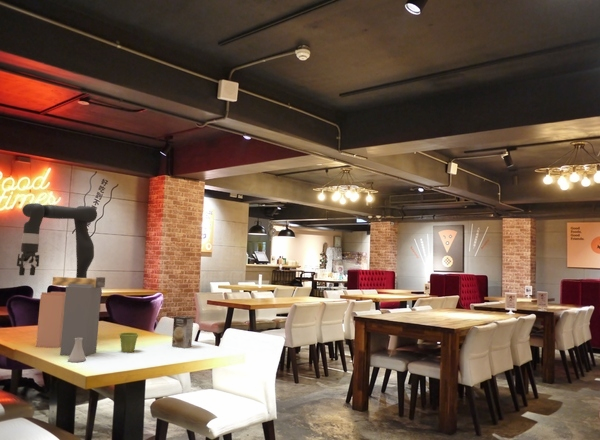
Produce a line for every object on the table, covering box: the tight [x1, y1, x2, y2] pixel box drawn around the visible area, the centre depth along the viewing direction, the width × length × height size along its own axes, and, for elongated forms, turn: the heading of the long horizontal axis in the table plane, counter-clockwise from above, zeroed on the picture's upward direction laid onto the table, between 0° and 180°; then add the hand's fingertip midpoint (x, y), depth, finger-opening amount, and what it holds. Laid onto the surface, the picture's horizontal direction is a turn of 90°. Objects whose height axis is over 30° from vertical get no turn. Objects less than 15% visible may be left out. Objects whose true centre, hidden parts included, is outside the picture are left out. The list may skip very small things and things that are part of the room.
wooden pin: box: [51, 276, 106, 289], centre depth 237 cm, size 24×5×5 cm, turn 86°
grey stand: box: [59, 284, 102, 357], centre depth 235 cm, size 12×11×33 cm
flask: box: [67, 338, 87, 363], centre depth 218 cm, size 7×7×10 cm
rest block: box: [35, 291, 66, 349], centre depth 253 cm, size 12×10×27 cm
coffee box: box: [171, 315, 194, 349], centre depth 266 cm, size 9×6×16 cm
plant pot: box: [118, 332, 140, 353], centre depth 245 cm, size 9×9×9 cm
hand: (26, 275), depth 242 cm, fingers open, 8 cm apart
